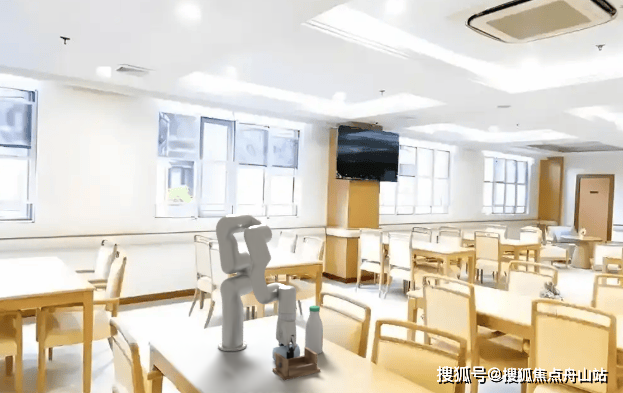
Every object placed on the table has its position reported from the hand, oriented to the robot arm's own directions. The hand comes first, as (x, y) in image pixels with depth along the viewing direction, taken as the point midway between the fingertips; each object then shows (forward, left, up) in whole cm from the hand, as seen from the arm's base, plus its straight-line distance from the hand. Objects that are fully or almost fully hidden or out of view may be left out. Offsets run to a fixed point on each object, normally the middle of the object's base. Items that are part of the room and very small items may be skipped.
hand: (286, 357), depth 183 cm
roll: (0, 0, -1) cm, 1 cm away
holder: (+12, -2, -1) cm, 12 cm away
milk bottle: (-2, +15, -1) cm, 15 cm away
